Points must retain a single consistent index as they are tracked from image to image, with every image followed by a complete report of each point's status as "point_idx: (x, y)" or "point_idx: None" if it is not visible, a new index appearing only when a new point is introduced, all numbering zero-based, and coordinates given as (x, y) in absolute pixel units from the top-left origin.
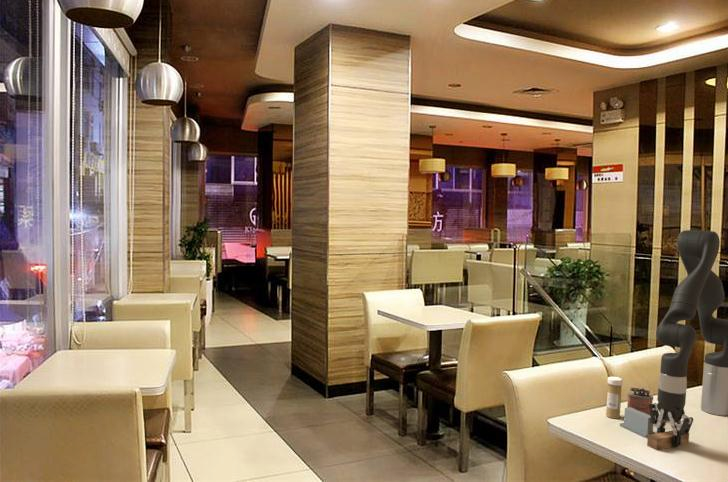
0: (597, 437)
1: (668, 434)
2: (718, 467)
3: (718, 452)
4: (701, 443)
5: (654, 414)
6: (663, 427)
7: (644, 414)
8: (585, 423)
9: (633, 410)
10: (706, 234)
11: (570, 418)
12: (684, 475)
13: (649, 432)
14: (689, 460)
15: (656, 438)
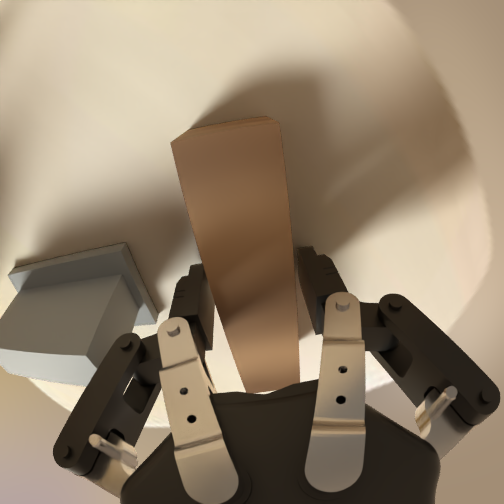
0: (164, 413)
1: (265, 317)
2: (482, 222)
3: (418, 61)
4: (289, 28)
5: (138, 422)
6: (197, 330)
7: (56, 367)
8: (66, 384)
9: (18, 366)
10: None
11: (46, 387)
12: None
13: (130, 300)
14: (410, 284)
15: (290, 384)
